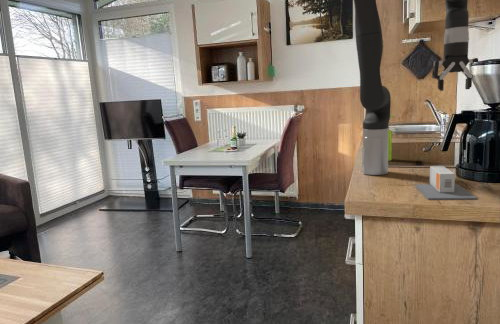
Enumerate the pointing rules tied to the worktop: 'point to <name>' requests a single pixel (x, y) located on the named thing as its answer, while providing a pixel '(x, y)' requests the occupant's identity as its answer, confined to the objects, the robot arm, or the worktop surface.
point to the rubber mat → (436, 195)
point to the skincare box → (442, 179)
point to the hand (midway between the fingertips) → (454, 90)
